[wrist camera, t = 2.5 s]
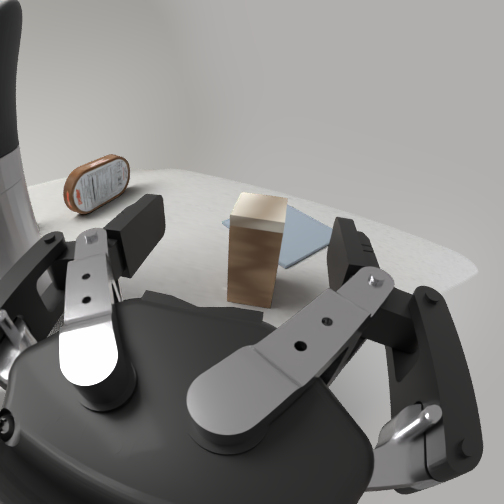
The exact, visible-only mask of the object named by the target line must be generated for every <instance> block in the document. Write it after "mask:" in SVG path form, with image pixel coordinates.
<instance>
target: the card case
mask: <svg viewBox="0 0 504 504" xmlns="http://www.w3.org/2000/svg"><path fill="white" fill-rule="evenodd" d="M287 200H288V198H282V197H275V196H268V195H261V194H254V193H246V192H241V194H240V196H239V198H238V200H237V202H236V204H235V206H234V208H233V210H232V212H231V214H230V228H229V255H228V288H227V301H229V302H234V303H240V304H246V305H252V306H258V307H264V308H270V307H271V302H272V296H273V291H274V285H275V279H276V273H277V268H278V262H279V256H280V250H281V244H282V238H283V232H284V226H285V218H286V209H287Z"/></svg>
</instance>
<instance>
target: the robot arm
mask: <svg viewBox="0 0 504 504" xmlns="http://www.w3.org/2000/svg"><path fill="white" fill-rule="evenodd" d="M21 29H22V9H21V6H20V3H19V2H18V1H17V0H2V1H0V386H1V387H2V388H3V389H4V390H6V394H5V399H4V402H3V406H2V409H1V411H0V504H357V503H358V501H359V499H360V497H361V496H362V495H363V493H364V492H367V491H381V490H390V489H394V490H395V491H397V492H398V493H400V494H411V493H414V492H417V491H421V490H424V489H427V488H429V487H432V486H435V485H438V484H441V483H443V482H446V481H448V480H451V479H453V478H456V477H458V476H460V475H463V474H465V473H467V472H469V471H471V470H473V469H474V468H475V467H476V466H477V464H478V463H479V461H480V459H481V457H482V453H483V440H482V432H481V426H480V419H479V414H478V408H477V403H476V399H475V393H474V389H473V385H472V381H471V377H470V373H469V369H468V366H467V362H466V359H465V355H464V352H463V349H462V346H461V342H460V340H459V337H458V334H457V331H456V328H455V325H454V322H453V320H452V317H451V314H450V312H449V309H448V307H447V304H446V302H445V300H444V298H443V296H442V295H441V294H440V293H439V292H437V291H436V290H434V289H433V288H430V287H427V286H419V287H417V288H416V289H415V291H414V293H413V295H412V294H409V293H407V292H404V291H401V290H399V289H397V288H395V287H394V280H393V278H392V277H391V276H390V275H389V274H388V273H387V272H385V271H384V270H382V269H380V267H379V264H378V262H377V259H376V256H375V253H374V251H373V248H372V245H371V243H370V240H369V238H368V237H367V236H366V235H365V234H364V233H363V232H359V231H357V230H356V227H355V224H354V221H353V220H352V219H346V218H340V217H336V219H335V222H334V226H333V230H332V234H331V238H330V242H329V246H328V251H327V266H328V276H329V286H330V288H328V289H326V290H325V291H324V292H323V293H321V294H320V295H319V296H318V297H317V298H315V299H314V300H313V301H312V302H310V303H309V304H308V305H307V306H306V307H304V308H303V309H302V310H300V311H299V312H298V313H297V314H295V315H294V316H293V317H292V318H290V319H289V320H288V321H286V322H285V323H284V324H283V325H281V326H280V327H279V328H276V327H274V326H272V325H270V324H268V323H266V322H263V321H262V320H263V312H260V311H254V310H248V309H241V308H235V307H197V306H195V305H192V304H190V303H188V302H185V301H183V300H181V299H178V298H176V297H174V296H171V295H166V294H162V293H157V292H152V291H148V290H146V291H145V293H144V295H143V296H142V298H135V299H128V300H124V301H123V297H122V292H121V286H120V282H119V277H120V276H122V277H127V278H132V276H133V275H134V274H135V272H136V271H137V270H138V268H139V267H140V266H141V264H142V263H143V262H144V260H145V259H146V258H147V256H148V255H149V254H150V252H151V251H152V250H153V249H154V247H155V246H156V245H157V243H158V242H159V241H160V240H161V238H162V237H163V235H164V233H165V215H164V204H163V198H162V196H161V195H154V194H145V195H144V196H143V197H142V198H140V199H139V200H138V201H137V202H136V203H134V204H132V205H130V206H128V207H127V208H125V209H124V210H123V211H122V212H121V213H120V214H118V215H117V216H116V218H114V219H113V220H112V221H110V222H109V223H108V224H107V225H106V226H105V227H104V228H103V229H102V228H93V229H89V230H86V231H84V232H83V233H81V234H80V235H79V236H78V237H77V239H76V241H71V242H65V239H64V235H63V233H62V232H58V231H56V232H51V233H48V234H46V235H45V236H43V237H42V238H41V236H40V233H39V229H38V226H37V223H36V220H35V216H34V213H33V209H32V206H31V202H30V198H29V194H28V190H27V186H26V181H25V176H24V171H23V166H22V161H21V154H20V148H19V146H18V145H19V141H18V133H17V116H16V73H17V72H16V71H17V62H18V54H19V47H20V38H21ZM63 312H64V325H63V326H61V327H60V331H59V332H57V333H55V334H53V335H51V336H49V337H47V336H48V334H49V333H50V331H51V330H52V328H53V327H54V325H55V324H56V322H57V321H58V319H59V318H60V316H61V315H62V313H63ZM46 337H47V338H46ZM367 339H369V340H372V341H375V342H378V343H380V344H383V345H385V349H386V357H387V366H388V376H389V387H390V400H391V402H390V403H391V420H390V421H389V422H387V423H386V424H385V425H384V426H383V427H382V429H381V431H380V434H379V439H378V443H377V445H376V447H375V449H373V448H372V445H371V443H370V441H369V439H368V438H367V436H366V434H365V433H364V432H363V431H362V429H361V428H360V427H359V426H358V425H357V423H356V422H355V421H354V419H353V418H352V417H351V416H350V415H349V413H348V412H347V411H346V409H345V408H344V407H343V406H342V404H341V403H340V402H339V401H338V399H337V398H336V397H335V395H334V394H333V393H332V392H331V390H330V389H329V388H328V387H329V386H330V385H331V383H332V382H333V381H334V380H335V378H336V377H337V376H338V374H339V373H340V372H341V370H342V369H343V368H344V367H345V365H346V364H347V363H348V362H349V361H350V360H351V358H352V357H353V356H354V355H355V353H356V352H357V351H358V350H359V349H360V347H361V346H362V344H363V343H364V342H365V341H366V340H367Z"/></svg>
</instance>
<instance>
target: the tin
mask: <svg viewBox="0 0 504 504" xmlns="http://www.w3.org/2000/svg"><path fill="white" fill-rule="evenodd" d="M129 179H130V168H129V163H128V161H127V160H126V159H125V158H123V157H120V156H116V155H113V154H111V155H107V156H104V157H102V158H99V159H97V160H94V161H92V162H89V163H87V164H84V165H82V166H80V167H78V168H76V169H75V170H73V171H72V172H71V174H70V175H69V176H68V178H67V180H66V182H65V185H64V192H63V196H64V201H65V204H66V205H67V207H68V208H69V209H70V210H72V211H74V212H77V213H80V214H88V213H90V212H92V211H94V210H96V209H97V208H99V207H101V206H102V205H104V204H106V203H108V202H109V201H111V200H113V199H115V198H117V197H118V196H120V195H121V194H122V193H123V192H124V191H125V189H126V187H127V185H128V183H129Z"/></svg>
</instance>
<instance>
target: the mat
mask: <svg viewBox="0 0 504 504" xmlns="http://www.w3.org/2000/svg"><path fill="white" fill-rule="evenodd" d="M222 224H223V225H225V226H226V227H228V228H230V219H228V220H225V221H222ZM332 230H333V229H332V228H330V227H328V226H326V225H324V224H323V223H321V222H319V221H317V220H315V219H313V218H312V217H310V216H308V215H306V214H304V213H302V212H301V211H299V210H297V209H295V208H293V207H291V206H289V205H287V209H286V218H285V226H284V232H283V238H282V244H281V250H280V256H279V262H278V264H280V265H281V266H282V267H284V268H287V267H289V266H291V265H293V264H295V263H296V262H298V261H300V260H302V259H304V258H305V257H307V256H309V255H311V254H313V253H314V252H316V251H318V250H320V249H322V248H323V247H325V246H327V245H329V242H330V238H331V234H332Z"/></svg>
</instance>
